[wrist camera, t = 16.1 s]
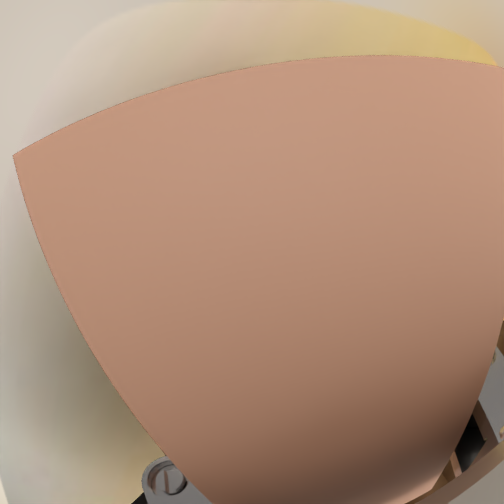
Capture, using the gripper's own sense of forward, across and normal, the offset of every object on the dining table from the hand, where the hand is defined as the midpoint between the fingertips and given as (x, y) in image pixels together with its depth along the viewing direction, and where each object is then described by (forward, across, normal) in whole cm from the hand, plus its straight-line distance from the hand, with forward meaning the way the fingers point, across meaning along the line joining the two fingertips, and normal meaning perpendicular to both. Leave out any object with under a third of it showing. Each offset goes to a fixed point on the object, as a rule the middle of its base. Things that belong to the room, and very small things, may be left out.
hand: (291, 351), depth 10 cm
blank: (+2, 0, -2) cm, 3 cm away
